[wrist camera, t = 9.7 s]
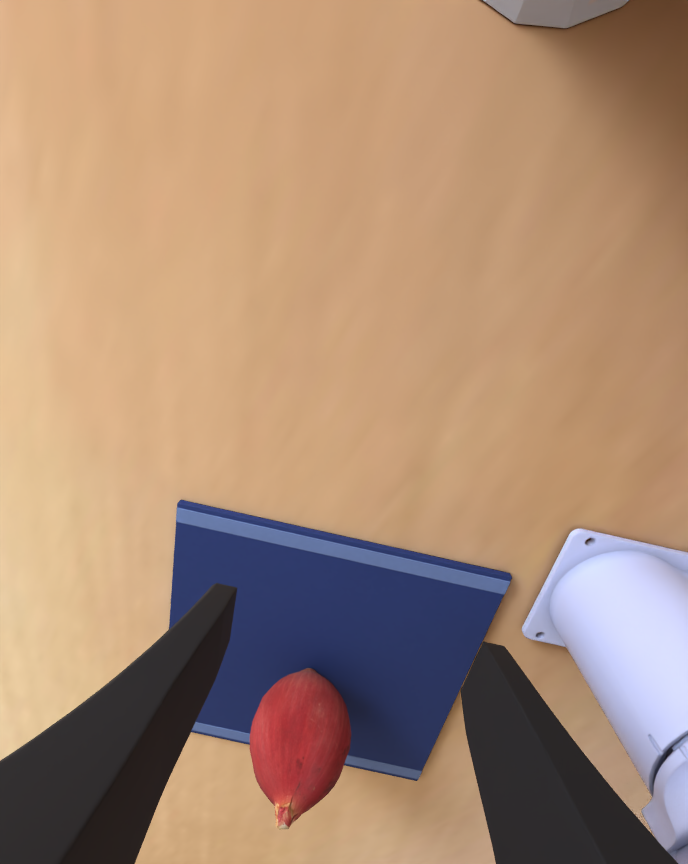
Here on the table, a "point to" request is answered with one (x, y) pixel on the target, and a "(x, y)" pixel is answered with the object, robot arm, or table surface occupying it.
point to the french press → (553, 10)
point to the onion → (299, 743)
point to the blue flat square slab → (336, 627)
